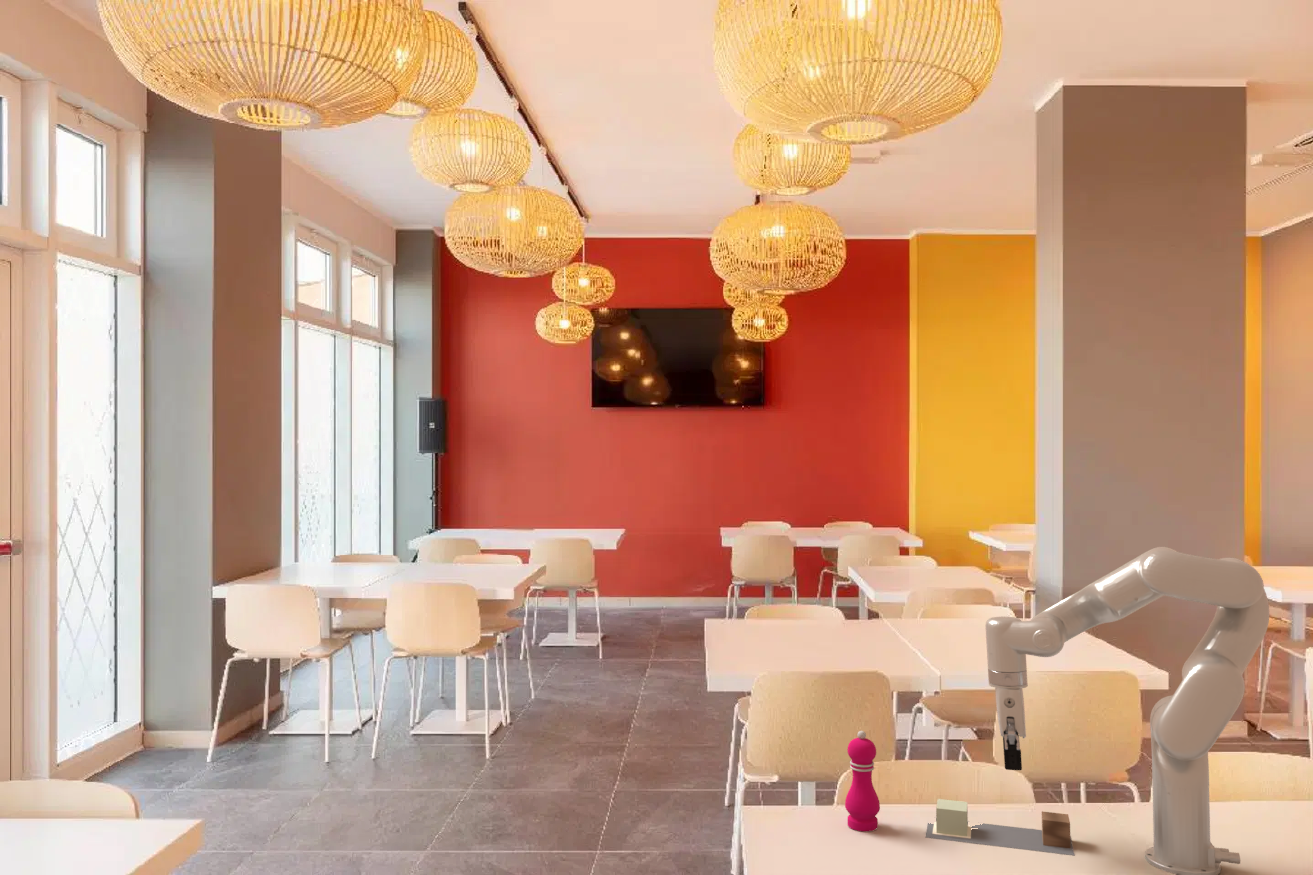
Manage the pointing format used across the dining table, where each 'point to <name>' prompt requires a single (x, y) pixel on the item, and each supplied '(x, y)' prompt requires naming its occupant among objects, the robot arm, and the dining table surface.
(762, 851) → the dining table surface
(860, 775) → the pepper mill
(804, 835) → the dining table surface
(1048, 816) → the walnut cube
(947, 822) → the sage block
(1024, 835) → the build mat
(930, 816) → the dining table surface
